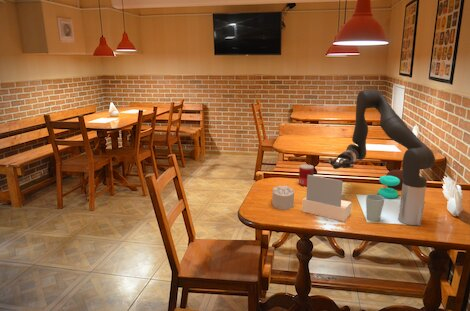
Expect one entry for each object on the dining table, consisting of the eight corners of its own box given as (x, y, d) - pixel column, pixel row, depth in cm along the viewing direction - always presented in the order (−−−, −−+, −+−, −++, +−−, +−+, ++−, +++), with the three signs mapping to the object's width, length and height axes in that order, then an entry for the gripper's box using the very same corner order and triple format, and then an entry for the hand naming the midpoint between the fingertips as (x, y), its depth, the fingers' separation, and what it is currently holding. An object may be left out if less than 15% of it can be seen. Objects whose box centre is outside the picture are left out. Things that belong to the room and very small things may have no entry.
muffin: (381, 187, 207) (383, 170, 204) (389, 182, 215) (390, 166, 212) (403, 192, 199) (405, 175, 196) (410, 187, 207) (412, 170, 204)
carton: (350, 214, 171) (351, 201, 169) (343, 221, 163) (345, 208, 161) (309, 204, 181) (310, 193, 180) (302, 211, 174) (302, 199, 172)
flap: (340, 206, 162) (342, 180, 159) (340, 207, 162) (342, 181, 159) (306, 199, 171) (308, 174, 168) (306, 199, 171) (307, 174, 168)
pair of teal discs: (379, 174, 198) (399, 175, 195) (377, 191, 201) (397, 193, 197) (380, 179, 189) (401, 181, 186) (378, 197, 191) (398, 200, 188)
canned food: (312, 187, 207) (313, 168, 204) (298, 186, 208) (299, 167, 205) (312, 183, 214) (313, 164, 211) (298, 182, 215) (299, 164, 213)
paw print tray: (292, 200, 187) (293, 184, 185) (294, 210, 175) (295, 193, 173) (272, 199, 188) (272, 183, 186) (272, 209, 176) (272, 192, 174)
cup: (385, 222, 162) (387, 200, 160) (368, 222, 162) (370, 200, 159) (377, 215, 169) (379, 194, 167) (361, 215, 169) (363, 194, 166)
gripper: (334, 149, 191) (322, 157, 177) (360, 153, 184) (349, 161, 170) (333, 163, 193) (321, 171, 179) (358, 168, 186) (348, 177, 172)
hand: (335, 166), depth 174 cm, fingers closed
